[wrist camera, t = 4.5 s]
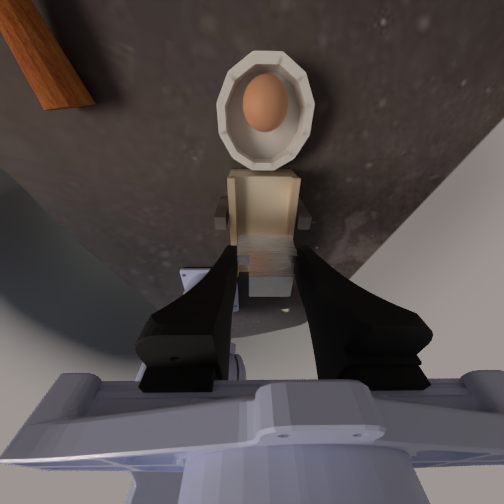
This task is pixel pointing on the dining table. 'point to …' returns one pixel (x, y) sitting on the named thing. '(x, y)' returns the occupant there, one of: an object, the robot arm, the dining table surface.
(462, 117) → the dining table surface
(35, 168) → the dining table surface
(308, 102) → the white round shallow bowl
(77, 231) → the dining table surface
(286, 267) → the gate
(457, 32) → the dining table surface
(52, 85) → the kendama
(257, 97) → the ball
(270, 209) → the wooden box
